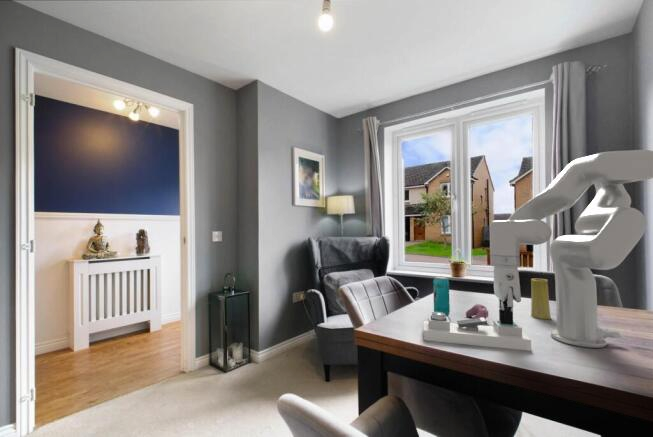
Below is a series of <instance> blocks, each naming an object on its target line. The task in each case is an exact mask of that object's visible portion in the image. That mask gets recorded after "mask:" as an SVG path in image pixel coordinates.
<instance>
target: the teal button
mask: <svg viewBox="0 0 653 437" xmlns="http://www.w3.org/2000/svg"><path fill="white" fill-rule="evenodd" d="M499 325H501V326H514V327H515V324H514V323H513V325H509V324H501V323H500V322H499Z"/></svg>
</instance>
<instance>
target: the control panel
mask: <svg viewBox="0 0 653 437" xmlns="http://www.w3.org/2000/svg"><path fill="white" fill-rule="evenodd" d="M427 319H428V320H423V340H424V341H428V342H436V343H437V342H439V343H447V344H458V345H459V344H460V345H467V346H468V345H469V346H478V347H479V346H480V347H489V348H497V349H510V350H517V351H518V350H519V351H528V352H532V339H531V338H530V337H529V336H528V335H527V334H526V333H525V332H523V328H522V326H521V325H519V324H518V323H517V321H513V323H514V324H515V327H514V326H501V325H499V322H500V321H499V319H492V321H493V322H492V323H493V326H492V325H479V326H470V327H461V328H459V326H458V324H457V323H455V322H451V321H450V319H449V316H448V317H446V316H445V321H438V320H432V314H428V317H427Z"/></svg>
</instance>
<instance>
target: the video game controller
mask: <svg viewBox="0 0 653 437" xmlns="http://www.w3.org/2000/svg"><path fill="white" fill-rule="evenodd" d="M465 316H466V317H467V318H471V317H472V318H471V319H478V318H482V317H484V318H485V319H486V320H487V318H489V310H488V309H487V307H486V306H485V305H484V304H481V303H480V304H479V303H476V304H474V305H473V306H472V307H471V308H470V309H468V310H467V311H466V312H465Z"/></svg>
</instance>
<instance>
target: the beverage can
mask: <svg viewBox="0 0 653 437" xmlns="http://www.w3.org/2000/svg"><path fill="white" fill-rule="evenodd" d="M432 283H433V312H442V313H445V316H446V317H448V318H449V317H450V316H449V315H450V312H451V310H450V309H451V307H450V305H451V304H450V281H449V277H447V276H442V275H439V276H438V275H436V276H433V280H432Z"/></svg>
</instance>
